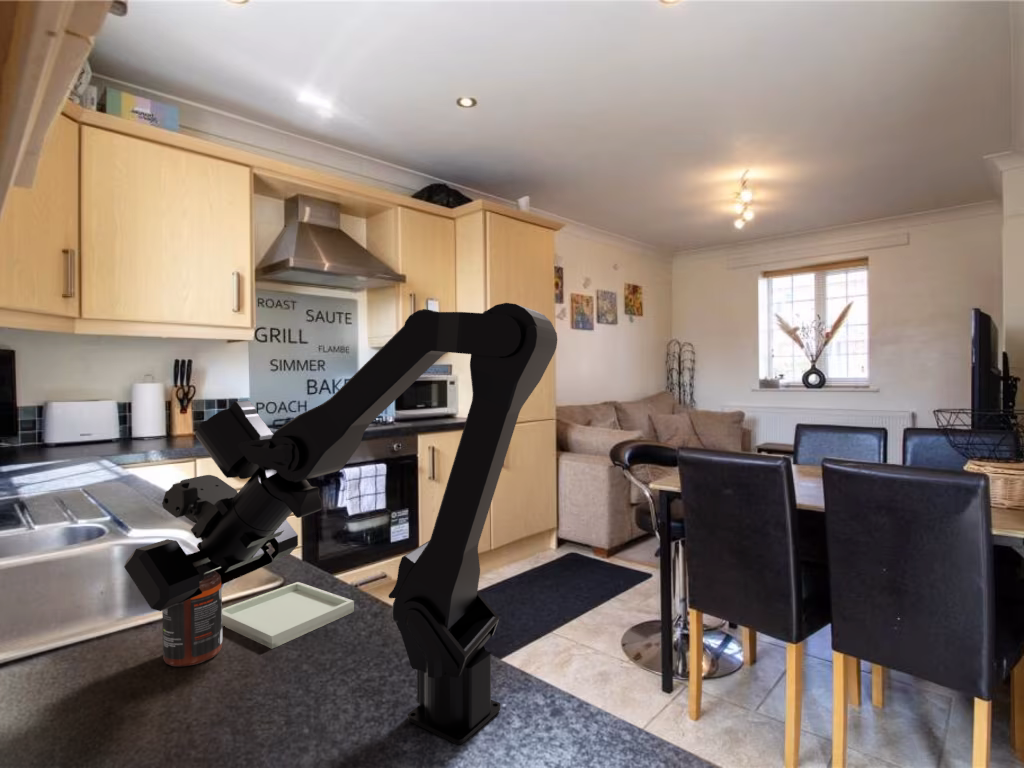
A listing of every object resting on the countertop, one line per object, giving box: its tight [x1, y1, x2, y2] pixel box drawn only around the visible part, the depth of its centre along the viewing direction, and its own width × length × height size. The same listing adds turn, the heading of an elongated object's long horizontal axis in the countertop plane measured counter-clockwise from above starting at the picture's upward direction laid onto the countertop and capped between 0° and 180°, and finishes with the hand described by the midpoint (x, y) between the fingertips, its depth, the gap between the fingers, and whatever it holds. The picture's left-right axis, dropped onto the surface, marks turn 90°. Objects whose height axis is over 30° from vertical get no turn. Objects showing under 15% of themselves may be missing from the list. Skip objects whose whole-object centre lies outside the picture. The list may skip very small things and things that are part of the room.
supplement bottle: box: [161, 553, 223, 668], centre depth 64 cm, size 6×6×11 cm
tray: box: [222, 581, 355, 650], centre depth 74 cm, size 12×12×2 cm
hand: (183, 596), depth 64 cm, fingers closed on supplement bottle, 6 cm apart
